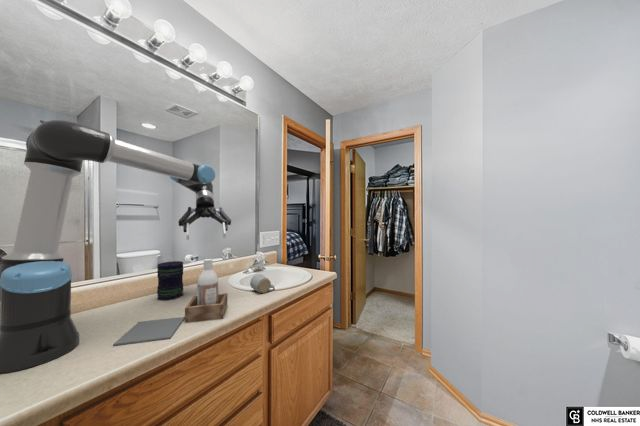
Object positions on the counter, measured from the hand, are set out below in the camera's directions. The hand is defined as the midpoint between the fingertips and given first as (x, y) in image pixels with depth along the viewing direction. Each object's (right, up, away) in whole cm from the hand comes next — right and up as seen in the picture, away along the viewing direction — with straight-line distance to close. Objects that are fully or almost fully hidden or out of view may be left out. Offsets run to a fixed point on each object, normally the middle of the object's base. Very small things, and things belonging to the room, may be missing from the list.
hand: (206, 236), depth 93 cm
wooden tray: (+5, -27, -9) cm, 29 cm away
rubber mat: (-6, -27, -22) cm, 35 cm away
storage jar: (-21, -28, +9) cm, 36 cm away
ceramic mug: (+19, -28, +17) cm, 38 cm away
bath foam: (+5, -28, -9) cm, 30 cm away
